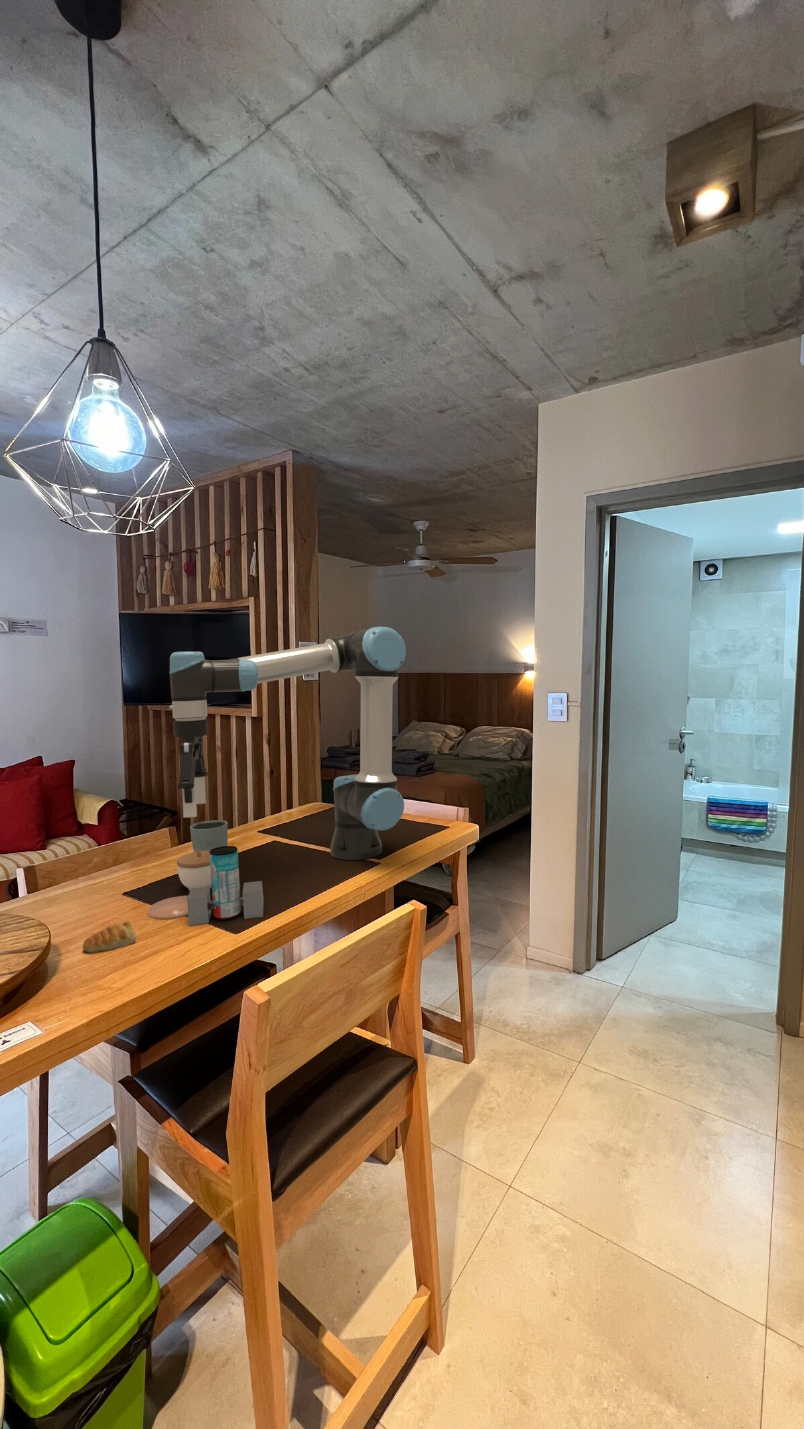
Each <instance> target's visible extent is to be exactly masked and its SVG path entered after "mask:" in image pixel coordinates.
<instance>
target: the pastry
mask: <svg viewBox="0 0 804 1429" xmlns="http://www.w3.org/2000/svg"><path fill="white" fill-rule="evenodd" d="M136 940H137V936H136V932H135V929H134V927H133V924H132V923H131V921H129V920H128V921H127V920H124V922H122V923H115V924H113V925H108V926H106V927H105V928H104V929H103V928H102V929H101V930H100V931H99V932H95V933H93V934H92V935H90V936H89V937H88V938H86V939H85V940H84V942H83V944H82V950H83V951H85V952H88V953H93V954H95V953H98V952H105V951H106V952H107V951H112V950H114V949H118V948H122V947H126V946H130V945H131V944H134V943H135V941H136Z"/></svg>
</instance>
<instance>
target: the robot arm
mask: <svg viewBox="0 0 804 1429" xmlns="http://www.w3.org/2000/svg"><path fill="white" fill-rule="evenodd" d="M406 656H407V648H406V643H405V641H404V639H403V637H402V635H400V633H399V632H398V631H396V630H395V629H393V628H392V627H389V626H374V627H369V628H365V629H359V630H356V631H352V632H350V633H347V634H344V635H339V636H337V637H333V638H327V639H326V640H325V641H324V643H319V644H313V645H308V646H301V647H295V648H291V649H290V648H289V649H283V650H278V651H271V652H266V653H260V654H253V655H248V656H242V657H237V658H230V659H220V660H219V659H218V660H217V659H216V660H212V659H210V660H209V659H206V658H205V655H204V653H203V652H202V651H175V652H172V653H171V655H170V657H169V678H170V679H169V680H170V681H169V682H170V692H171V701H172V702H171V705H169V709H170V710H172V718H173V719H175V720H174V721H173V722H172V727H173V729H172V730H173V731H172V732H173V736H174V737H176V738H180V739H181V738H183V742H181V743H180V745H179V747H180V762H179V763H180V767H179V784H177V789H178V790H181V795H182V796H181V797H182V813H183V815H182V816H183V818H184V819H185V818H196V817H198V811H197V805H203V804H207V797H206V796H207V792H206V781H205V780H206V779H205V777H208V773H209V772H208V771H207V769H206V763H205V756H204V750H203V741H202V740H203V738H202V737H205V736H207V735H208V734H209V726H208V725H209V723H208V720H207V719H206V718H207V717H208V702H207V701H208V700H207V693H219V692H221V693H222V692H223V693H225V692H226V693H227V692H229V693H230V692H232V693H233V692H243V693H244V692H245V691H246V692H247V691H248V692H249V691H254V690H255V689H256V688H257V687H258V684H262V683H269V682H275V681H278V680H284V679H289V678H294V677H299V676H304V675H305V676H306V675H310V674H315V673H321V672H326V671H330V672H331V673H335V674H336V673H339V672H355V674H354V675H355V676H354V677H355V679H356V680H357V681H358V682H359V684H360V733H359V734H360V736H359V737H360V743H359V744H360V749H359V750H360V753H359V754H360V755H359V762H360V766H359V767H360V768H359V769H360V770H359V773H358V774H349V775H343V776H342V775H340V776H338V777H336V778H334V780H333V788H332V791H333V803H334V822H335V823H334V824H335V825H334V826H335V829H334V831H333V836H332V838H331V839H332V840H331V844H330V850H329V851H330V855H331V857H332V858H335V859H338V860H343V861H345V860H346V861H358V860H366V859H368V860H369V859H371V858H375V857H377V856H379V855H381V854H382V852H383V844H382V840H381V838H380V835H379V832H378V831H386V830H387V831H388V830H389V829H391V828H393V827H395V825H397V823H398V822H399V821H400V820H401V818H402V816H403V814H404V811H405V800H404V797H403V796H402V794H401V793H400V792H399V791H398V778H397V776H395V775H394V773H393V770H392V763H393V762H392V761H393V760H392V759H393V758H392V757H393V756H392V755H393V690H394V689H393V686H394V684H395V682H396V681H397V680H398V679H399V668H400V667H401V666H402V665H403V664H404V662H405V659H406Z"/></svg>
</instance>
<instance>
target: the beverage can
mask: <svg viewBox="0 0 804 1429" xmlns="http://www.w3.org/2000/svg"><path fill="white" fill-rule="evenodd" d="M239 867H240V866H239V850H238V847H237V846H235V845H234V846H233V845H227V846H222V847H217V848H214V849H212V850H210V868H211V884H212V887H211V897H212V900H211V901H213V909H212V911H213V912H212V913H213V917H214V919H216V920H218V921H230V920H232V919H233V920H234V919H236V918H238V917H239V916H240V915H241V912H242V906H241V901H240V897H241V887H240V886H241V885H240V868H239Z"/></svg>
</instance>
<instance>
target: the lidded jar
mask: <svg viewBox="0 0 804 1429" xmlns="http://www.w3.org/2000/svg"><path fill="white" fill-rule="evenodd" d="M176 866H177V874H178V878H179V880H180V882H181V883H182V885H183V886H184V887H185V888H187V889H188V891H190V890H191V889H193V888H202V887H210V889H212V884H211V868H210V851H201V850H197V852H194V851H192V852H189V853H186V854H183V855H181V856H178V858H177V859H176Z"/></svg>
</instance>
